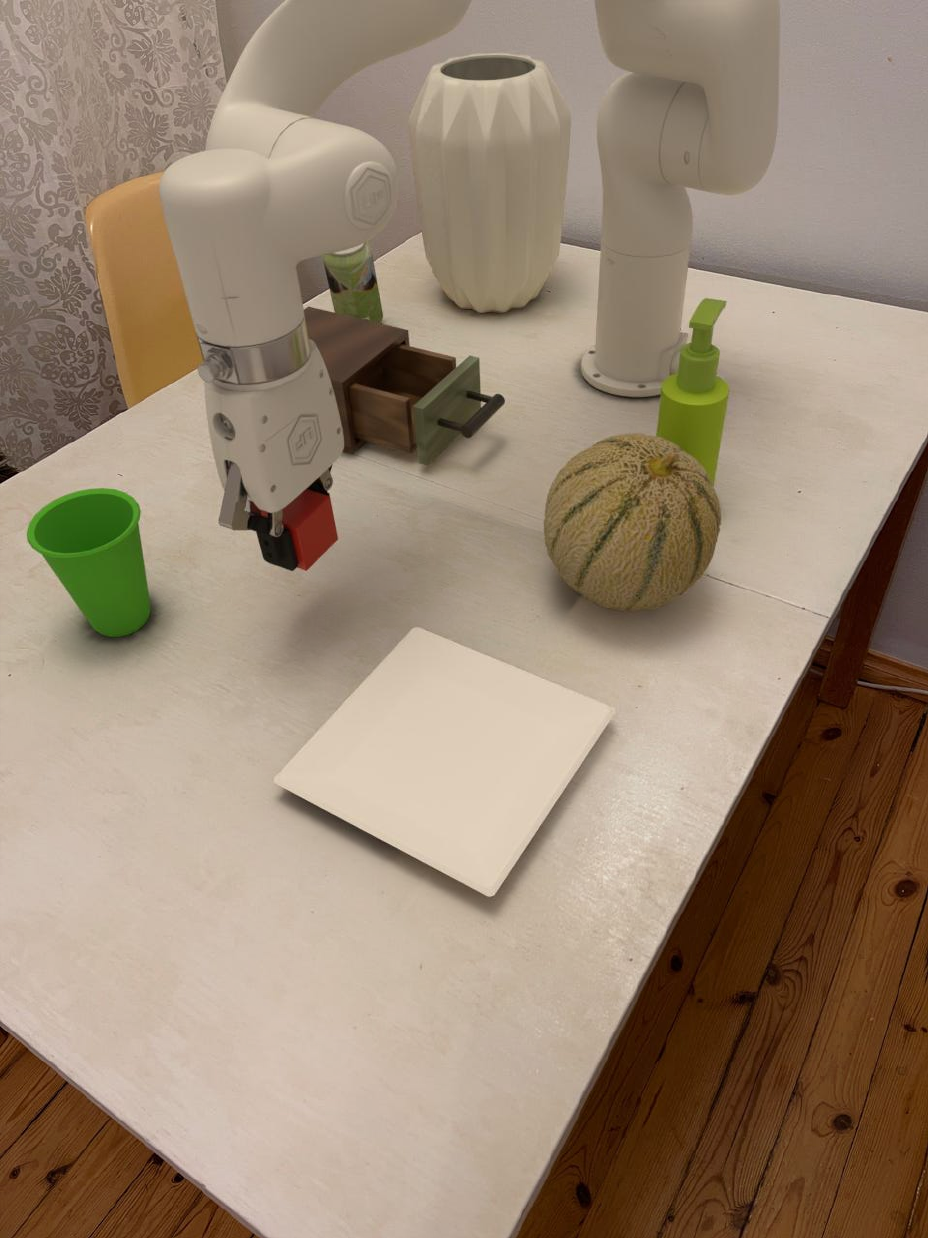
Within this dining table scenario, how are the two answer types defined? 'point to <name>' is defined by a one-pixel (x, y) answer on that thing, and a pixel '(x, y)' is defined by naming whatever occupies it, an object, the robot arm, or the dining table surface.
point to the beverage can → (354, 283)
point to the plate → (449, 756)
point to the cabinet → (350, 355)
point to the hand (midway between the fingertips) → (300, 543)
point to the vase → (490, 177)
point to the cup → (96, 556)
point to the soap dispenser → (696, 393)
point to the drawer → (419, 402)
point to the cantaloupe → (632, 522)
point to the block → (310, 526)
